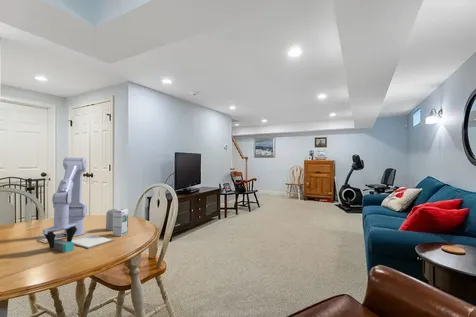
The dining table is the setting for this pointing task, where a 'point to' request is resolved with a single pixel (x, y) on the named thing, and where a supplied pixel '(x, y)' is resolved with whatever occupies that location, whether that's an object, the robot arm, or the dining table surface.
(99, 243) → the notepad
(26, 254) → the dining table surface
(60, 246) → the grey teal rectangular block
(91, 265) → the dining table surface
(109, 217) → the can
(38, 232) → the dining table surface
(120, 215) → the syrup box
